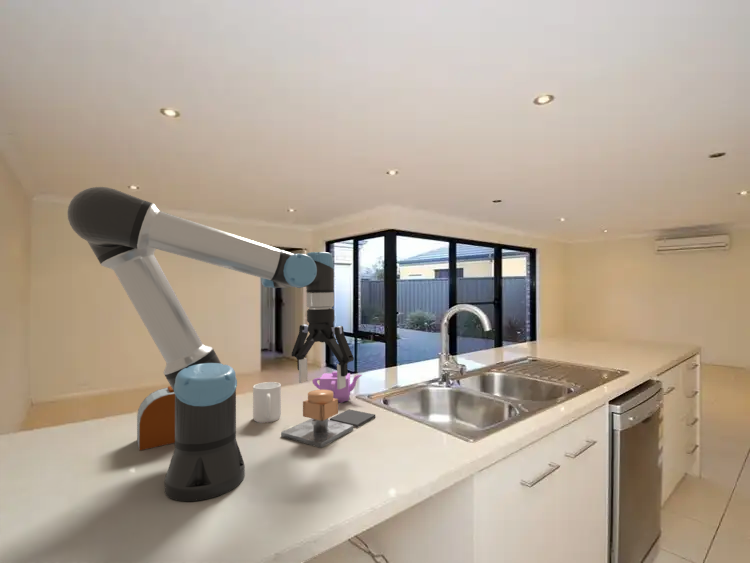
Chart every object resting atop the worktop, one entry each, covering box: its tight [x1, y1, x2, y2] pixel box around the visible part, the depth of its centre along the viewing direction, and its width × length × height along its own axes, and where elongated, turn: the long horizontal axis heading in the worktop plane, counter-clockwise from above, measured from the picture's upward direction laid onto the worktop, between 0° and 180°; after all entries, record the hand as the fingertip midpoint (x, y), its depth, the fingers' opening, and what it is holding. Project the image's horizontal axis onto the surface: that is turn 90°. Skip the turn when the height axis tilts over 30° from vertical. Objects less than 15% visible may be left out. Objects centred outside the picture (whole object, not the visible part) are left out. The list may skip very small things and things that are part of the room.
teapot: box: [312, 370, 363, 404], centre depth 134 cm, size 18×14×10 cm
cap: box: [302, 389, 339, 421], centre depth 103 cm, size 7×7×6 cm
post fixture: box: [280, 418, 354, 449], centre depth 103 cm, size 14×14×9 cm
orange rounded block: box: [136, 385, 175, 451], centre depth 101 cm, size 15×8×14 cm, turn 126°
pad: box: [329, 409, 376, 428], centre depth 114 cm, size 10×10×1 cm
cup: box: [252, 381, 282, 424], centre depth 114 cm, size 8×12×10 cm
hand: (321, 385), depth 103 cm, fingers open, 13 cm apart
